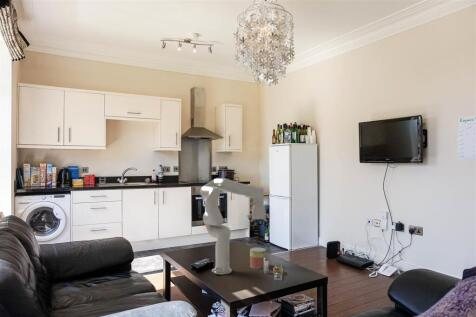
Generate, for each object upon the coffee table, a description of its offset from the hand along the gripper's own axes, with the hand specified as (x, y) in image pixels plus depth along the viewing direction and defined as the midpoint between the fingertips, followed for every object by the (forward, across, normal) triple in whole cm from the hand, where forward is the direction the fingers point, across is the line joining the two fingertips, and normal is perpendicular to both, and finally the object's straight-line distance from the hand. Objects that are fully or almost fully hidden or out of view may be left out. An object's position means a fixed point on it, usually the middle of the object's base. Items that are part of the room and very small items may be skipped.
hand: (258, 226), depth 243 cm
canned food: (+27, -2, -10) cm, 29 cm away
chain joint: (+26, +9, -27) cm, 39 cm away
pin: (+27, +1, -25) cm, 37 cm away
